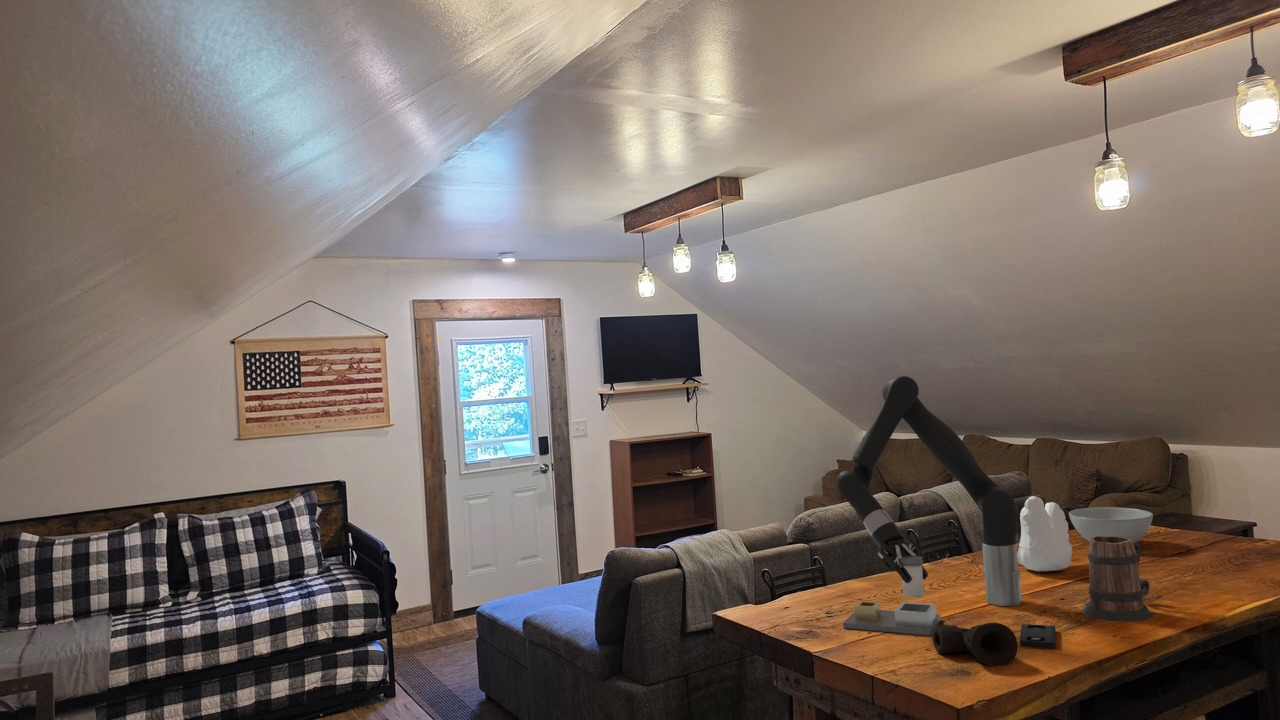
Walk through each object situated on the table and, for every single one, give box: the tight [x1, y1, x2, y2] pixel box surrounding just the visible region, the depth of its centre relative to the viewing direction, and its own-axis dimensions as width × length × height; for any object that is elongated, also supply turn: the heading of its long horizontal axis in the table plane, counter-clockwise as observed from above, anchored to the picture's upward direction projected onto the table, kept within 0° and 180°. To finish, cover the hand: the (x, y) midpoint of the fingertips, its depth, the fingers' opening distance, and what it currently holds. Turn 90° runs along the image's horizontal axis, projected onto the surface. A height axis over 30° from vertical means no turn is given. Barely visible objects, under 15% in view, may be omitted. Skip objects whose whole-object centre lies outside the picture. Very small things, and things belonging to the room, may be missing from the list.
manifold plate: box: [842, 600, 942, 637], centre depth 232 cm, size 23×15×5 cm, turn 60°
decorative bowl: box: [1068, 506, 1154, 543], centre depth 306 cm, size 27×27×12 cm
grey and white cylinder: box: [900, 555, 925, 598], centre depth 229 cm, size 6×6×10 cm
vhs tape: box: [1019, 623, 1057, 650], centre depth 212 cm, size 14×8×2 cm, turn 154°
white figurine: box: [1017, 495, 1073, 572], centre depth 280 cm, size 25×16×25 cm, turn 116°
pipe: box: [931, 622, 1018, 667], centre depth 203 cm, size 10×15×15 cm
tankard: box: [1081, 536, 1154, 623], centre depth 231 cm, size 24×17×20 cm
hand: (917, 579), depth 227 cm, fingers closed on grey and white cylinder, 5 cm apart
